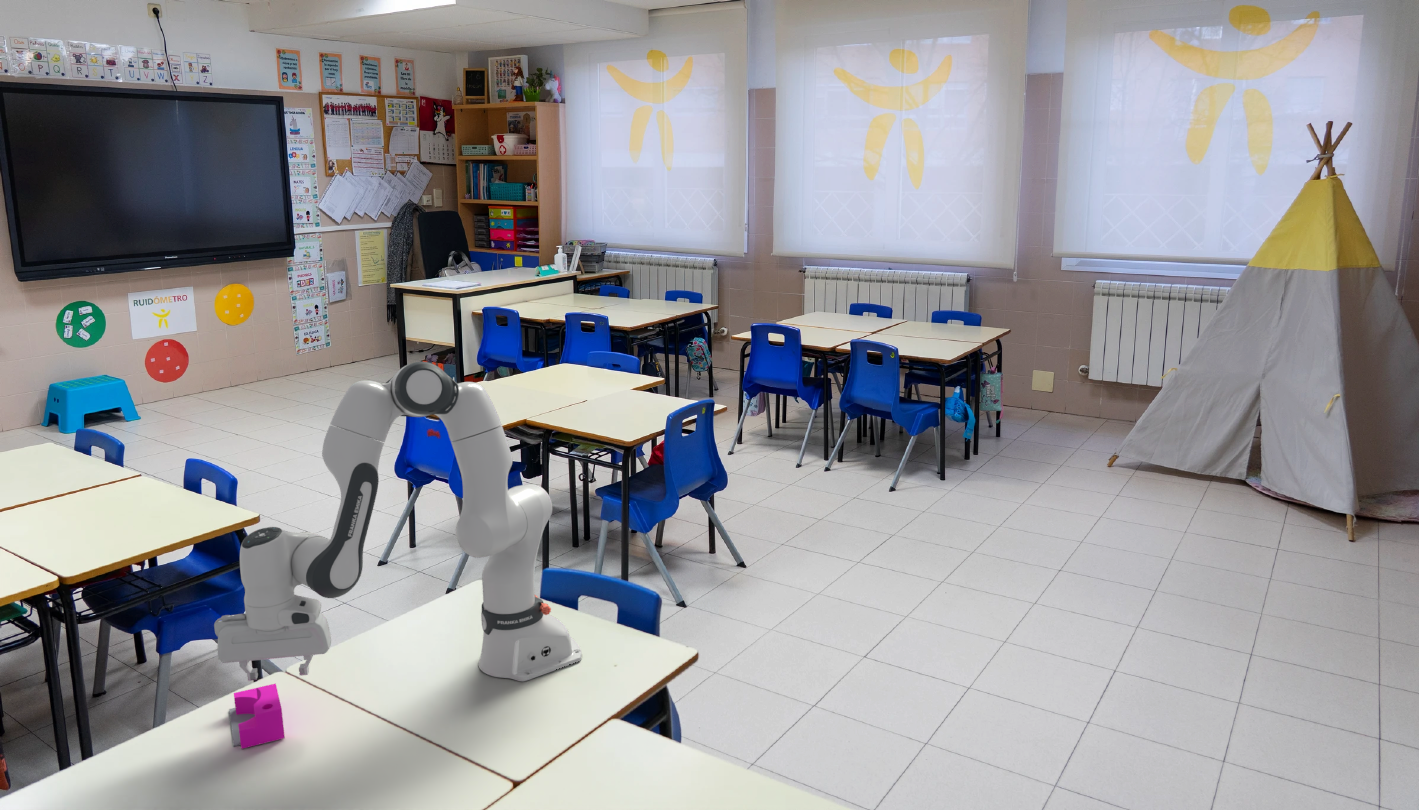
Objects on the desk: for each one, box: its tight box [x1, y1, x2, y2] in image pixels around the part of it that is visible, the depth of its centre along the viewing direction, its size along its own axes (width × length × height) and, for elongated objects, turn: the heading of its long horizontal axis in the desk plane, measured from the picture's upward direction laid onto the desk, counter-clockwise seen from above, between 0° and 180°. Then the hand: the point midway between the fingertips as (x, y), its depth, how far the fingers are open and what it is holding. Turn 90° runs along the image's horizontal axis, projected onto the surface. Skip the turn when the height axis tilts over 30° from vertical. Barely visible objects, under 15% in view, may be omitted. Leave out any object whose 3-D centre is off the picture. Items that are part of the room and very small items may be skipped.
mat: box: [228, 707, 255, 748], centre depth 191 cm, size 8×14×1 cm, turn 28°
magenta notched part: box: [233, 683, 286, 750], centre depth 189 cm, size 15×6×8 cm
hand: (278, 676), depth 191 cm, fingers open, 8 cm apart
